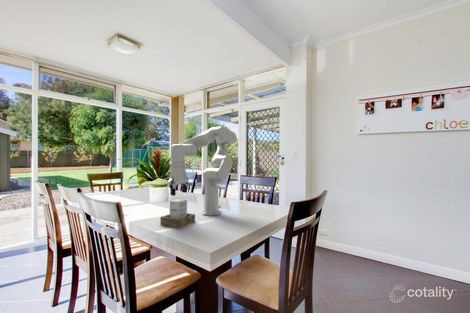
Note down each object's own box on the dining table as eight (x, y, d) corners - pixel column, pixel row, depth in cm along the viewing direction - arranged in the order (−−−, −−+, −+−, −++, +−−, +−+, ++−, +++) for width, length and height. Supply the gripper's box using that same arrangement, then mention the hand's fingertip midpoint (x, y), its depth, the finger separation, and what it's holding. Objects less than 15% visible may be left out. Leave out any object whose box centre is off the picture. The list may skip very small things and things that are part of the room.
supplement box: (169, 222, 129) (169, 200, 129) (178, 219, 135) (178, 198, 135) (178, 224, 125) (178, 201, 125) (187, 220, 132) (187, 199, 132)
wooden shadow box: (177, 218, 140) (177, 211, 140) (195, 221, 133) (195, 214, 133) (160, 224, 127) (160, 217, 127) (179, 228, 121) (179, 220, 121)
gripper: (183, 164, 140) (183, 191, 140) (162, 166, 124) (163, 196, 125) (192, 164, 136) (193, 191, 137) (172, 166, 121) (173, 197, 121)
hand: (178, 193), depth 131 cm, fingers open, 9 cm apart
